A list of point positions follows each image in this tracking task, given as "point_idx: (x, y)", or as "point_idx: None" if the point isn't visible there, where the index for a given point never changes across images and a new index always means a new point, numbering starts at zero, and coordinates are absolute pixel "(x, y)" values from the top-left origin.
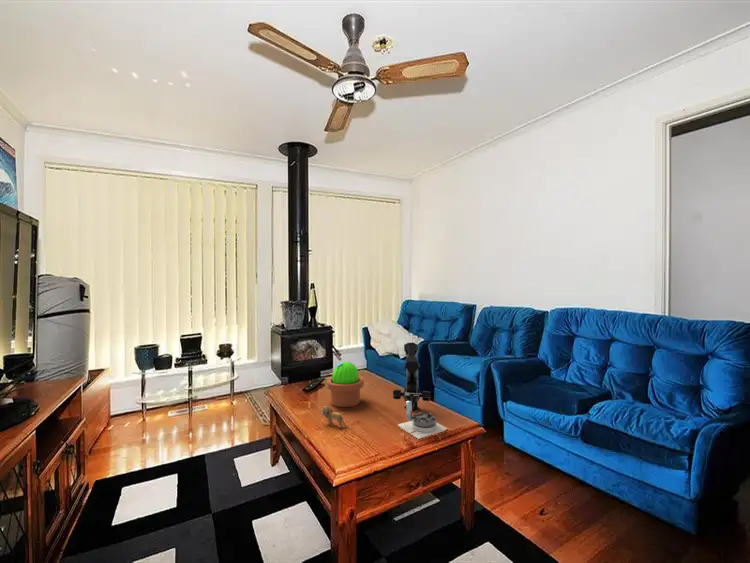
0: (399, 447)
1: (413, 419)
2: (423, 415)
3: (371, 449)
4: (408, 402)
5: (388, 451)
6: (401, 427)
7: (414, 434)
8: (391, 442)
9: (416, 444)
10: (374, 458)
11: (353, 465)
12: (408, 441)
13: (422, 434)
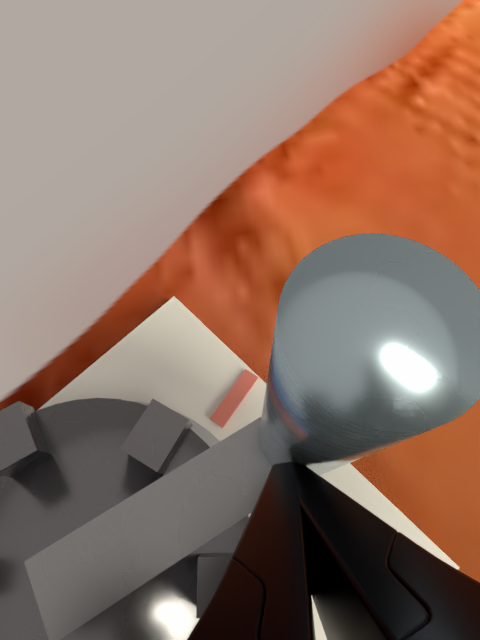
0: (301, 181)
1: (235, 435)
2: (72, 626)
3: (471, 126)
4: (373, 244)
5: (356, 128)
6: (389, 503)
7: (215, 351)
8: (380, 228)
9: (186, 240)
10: (405, 60)
11: (476, 2)
12: (254, 269)
13: (138, 369)
